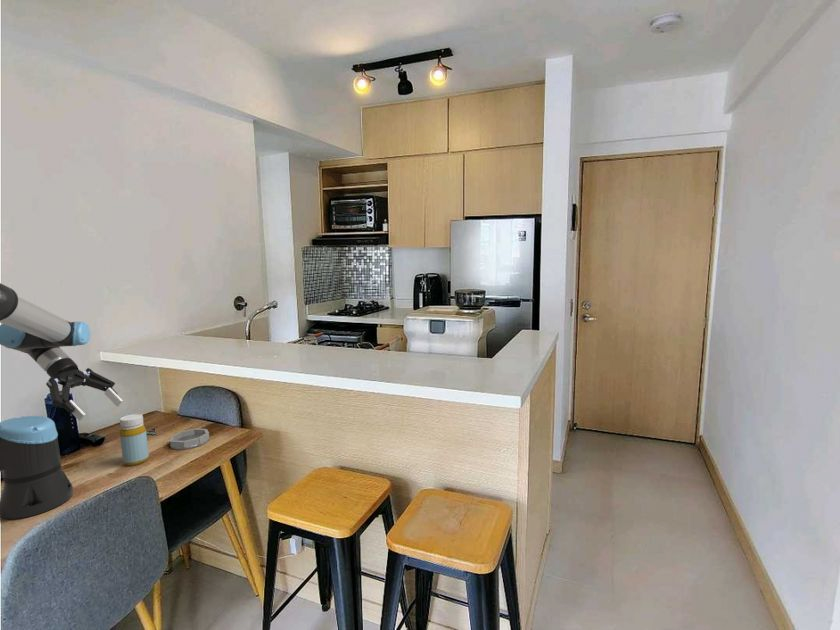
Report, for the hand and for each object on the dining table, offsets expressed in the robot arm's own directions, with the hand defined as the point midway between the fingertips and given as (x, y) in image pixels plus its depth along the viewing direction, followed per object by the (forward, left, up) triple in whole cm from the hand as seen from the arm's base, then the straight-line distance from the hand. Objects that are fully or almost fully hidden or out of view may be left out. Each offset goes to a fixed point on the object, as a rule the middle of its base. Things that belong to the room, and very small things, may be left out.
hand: (102, 410), depth 143 cm
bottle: (0, -11, -17) cm, 20 cm away
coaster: (+16, -18, -17) cm, 29 cm away
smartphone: (+28, +3, -17) cm, 33 cm away
